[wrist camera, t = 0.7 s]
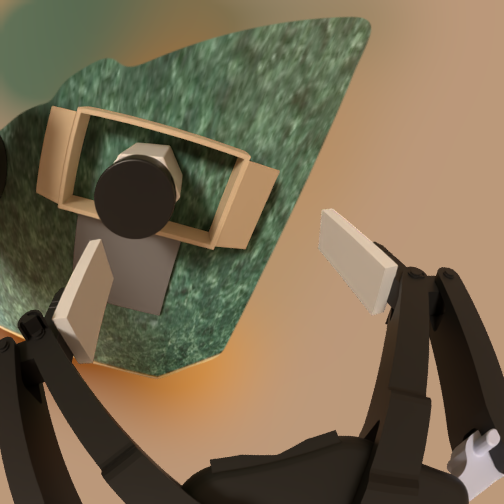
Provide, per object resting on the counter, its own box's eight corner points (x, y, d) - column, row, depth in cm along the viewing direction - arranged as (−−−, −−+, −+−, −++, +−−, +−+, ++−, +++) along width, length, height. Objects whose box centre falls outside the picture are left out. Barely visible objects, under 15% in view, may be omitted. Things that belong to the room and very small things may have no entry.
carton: (42, 190, 32) (30, 200, 28) (60, 101, 26) (47, 101, 23) (241, 244, 43) (246, 258, 39) (276, 163, 38) (285, 169, 34)
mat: (72, 291, 40) (71, 292, 40) (80, 203, 34) (79, 204, 34) (159, 313, 46) (159, 315, 46) (183, 231, 40) (183, 233, 39)
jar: (155, 214, 38) (143, 257, 27) (108, 182, 34) (78, 215, 24) (194, 163, 35) (195, 188, 25) (146, 128, 32) (125, 137, 21)
